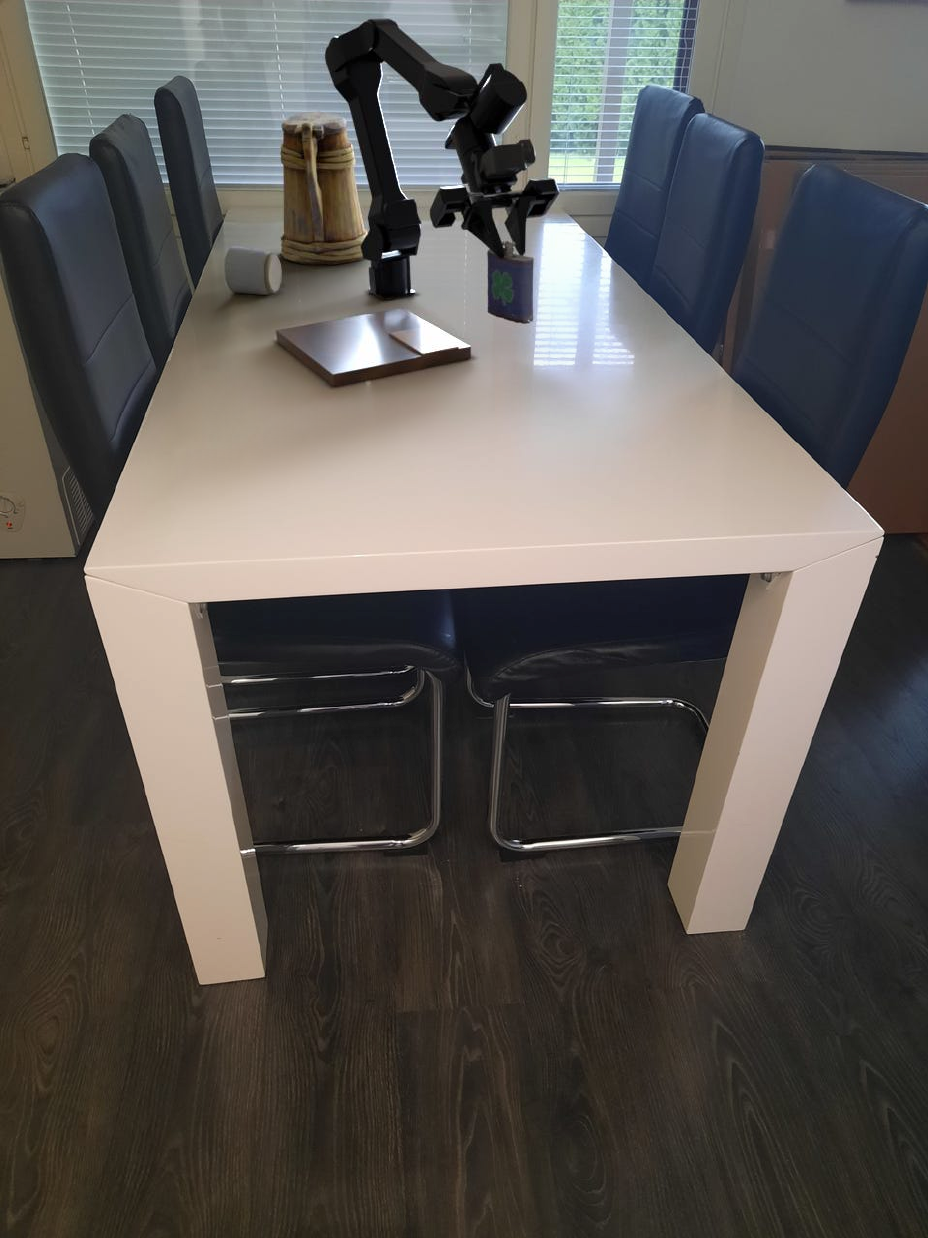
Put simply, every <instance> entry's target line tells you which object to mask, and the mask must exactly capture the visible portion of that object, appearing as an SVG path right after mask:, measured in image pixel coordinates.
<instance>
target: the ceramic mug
mask: <svg viewBox="0 0 928 1238" xmlns="http://www.w3.org/2000/svg"><path fill="white" fill-rule="evenodd" d="M282 270H283V269H282V264H281V261H280V259H279V257H278V256H277V254H275V253H273V252H271V251H268V250H263V249H255V248H250V247H244V246H243V247H242V246H236V245H233V246H230V248H229V249H228V250H227V252H226V255H225V259H224V277H225V282H226V284H227V287H228V289H229V290H230V291H231V292H232V293H235V294H249V295H264V296H267V295H274V294H276V293H277V292H278V291H279V289H280V287H281V284H282V275H283V274H282V273H283V271H282Z"/></svg>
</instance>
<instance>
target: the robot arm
mask: <svg viewBox="0 0 928 1238" xmlns="http://www.w3.org/2000/svg"><path fill="white" fill-rule="evenodd" d="M324 61H325V65H326V67H327V71H328V73H329V76H330V79H331V81H332V84H333V87H334V89H336V91H337V92H338V93H339V94H340V96H341V97H342V98H343V99H344V100H345V101H346V103H347V104H348V107H349V108H348V109H349V113H350V115H351V120H352V123H353V127H354V132H355V136H356V139H357V143H358V147H359V151H360V156H361V159H362V163H363V167H364V172H365V176H366V179H367V184H368V187H369V192H370V196H371V202H370V206H369V210H368V214H367V223H368V229H369V230H368V231H367V232H368V234H367V235H366V237H365V239H364V240H363V242H362V244H361V246H360V247H361V251H362V255H363V258H362V259H363V260H367V261H369V262H370V266H369V267H368V279H369V281H368V282H369V288H368V292H369V293H371V294H372V295H374V296H376V297H378V298H379V299H382V300H390V299H396V298H403V297H408V296H413V295H416V291H415V290H414V289H412V277H411V276H412V275H411V257H413V256H415V257H416V256H418V250H419V246H420V242H421V241H420V240H421V236H422V228H421V227H422V226H421V225H422V220H421V218H420V215H419V212H418V204H417V202H416V200H415V198H407V197H406V195H405V194H404V193H403V191H402V190H401V187H400V182H399V179H398V174H397V169H396V165H395V162H394V158H393V153H392V149H391V145H390V139H389V137H388V131H387V128H386V124H385V120H384V116H383V112H382V107H381V103H380V99H379V91H380V87H381V84H382V79H383V69H382V65H384V63H386V64H387V65H388V66H389V67H390V68H391V69H392V70H393V71H395V72H396V73H397V74H398V75H399V76H400V77H401V78H402V79H403V80H405V81H406V82H407V83H408V84H409V85H410V86H411V87H412V88H414V89H415V91H416V92H417V93H418V102H419V104H420V106H422V108H423V109H424V111H425V112H426V113H427V114H428V115H429V117H430V118H431V120H433V121H434V122H437V123H441V122H450V121H455V124H454V125H453V126H452V128H449V130H448V135H447V137H446V139H445V141H444V149H445V150H448V151H449V150H451V151H455V152H456V154H457V157H458V160H459V164H460V167H461V169H462V173H461V176H460V181H461V183H462V185H453V186H452V185H451V186H440V187H439V189H438V191H437V193H436V194H435V197H434V199H433V202H432V203H431V206H430V208H429V218H430V222H431V224H432V227H433V228H434V229H440V228H451V227H453V225H454V224H455V222H456V220H457V218H456V214H455V213H461V216H462V219H463V220H462V223H461V224H460V229H461V230H463V231H467V232H469V233H470V234H472V235H473V236H474V237H475V238H476V239H478V240H479V241H481V242H482V243H483V244H484V245H485V247H487V248H488V250H489V249H490V250H491V251H492V252H493V253H494V254H495V255H496V256H497V257H499V258H500V259H503V257H504V255H505V253H504V249H503V248H504V245H502V242H503V241H502V239H501V236H500V234H499V231H498V228H497V226H496V223H495V220H494V217H493V210H500V209H504V211H506V215H507V217H506V219H505V221H504V223H503V224H504V226H505V229H506V230H507V232H508V235H509V237H510V239H511V242H512V241H514V242H515V246H514V249H516V251H517V253H518V255H522V256H525V254H526V244H527V243H526V240H527V235H526V233H527V219H533V218H542V217H543V216H545V215H547V213H548V212H549V210H550V209H551V207H552V205H553V204H554V202H555V201H556V200H557V198H558V196H559V195H560V194H561V192H560V188H559V186H558V183H557V181H556V179H555V178H553V177H539V178H530V179H529V180H528V181H527V183H526V184H525V187H524V189H523V190H522V189H520V190H519V189H518V190H512V186H516V184H517V183H518V181H519V179H518V174H519V173H521V172H523V171H526V170H527V168H530V167H531V166H532V165H533V164H535V163H536V160H537V157H536V149H535V147H534V145H533V143H532V140H531V139H530V138H525V139H519V140H518V142H515V143H509V144H506V143H505V144H498V145H497V143H496V140H495V137H494V135H501V134H503V133H504V132H505V131H506V130H507V128H508V127H509V126H510V124H511V123H512V122H513V120H514V119H515V117H516V116H517V115H518V113H519V112H520V110H521V109H522V108H523V107H524V105H525V103H526V102H527V100H528V91H527V88H526V86H525V83H524V82H523V81H521V80H520V79H519V77H517V76H516V75H515V74H514V73H513V72H511V71H509V70H507V69H505V67H504V65H503V63H502V62H494V63H489V64H488V66H487V68H486V69H485V71H484V73H483V76H482V78H481V80H480V81H479V82H478V81H477V79H476V77H475V76H474V75H472V74H471V73H470V72H467V71H465V70H463V69H461V68H459V67H456V66H452V65H449V64H445V63H442V62H440V61H439V60H437V59H436V58H435V57H434V56H433V55H432V54H430V53H429V52H428V51H427V50H425V49H424V48H423V47H422V46H421V45H420V44H418V43H417V42H416V41H415V40H414V39H412V37H410V36H409V35H408V34H407V33H405V32H404V31H403V30H402V29H401V28H400V27H399V24H398V23H397V22H396V21H395V20H393V19H392V18H369V19H367V20H366V21H363V22H362V23H360V25H359V26H357V27H355V28H352V29H351V30H349V31H347V32H345V33H342V34H340V35H339V36H333V37H332V38H330V40H329V42H328V45H327V47H326V48H325V51H324ZM464 185H467V187H468V189H467V187H466V186H464ZM468 190H469V191H468Z"/></svg>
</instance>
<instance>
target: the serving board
mask: <svg viewBox="0 0 928 1238" xmlns="http://www.w3.org/2000/svg"><path fill="white" fill-rule="evenodd" d="M275 335H276V341H277V342H276V343H279V344H280V345H281V346H282V347H283V348H285V349H286V350H287V351H288V352H289V353H291V354H292V355H293V356H295V357H296V359H298V360H299V361H300V362H302V363H303V364H305V365H306V366H307V367H308V368H309V369H310V370H312V371H314V373H316V374H317V375H318V376H320V378H322V379H324V380H325V381H326V382H327V383H329V384H330V386H332V387H333V388H336V387H341V386H345V385H351V384H355V383H360V382H364V381H371V380H375V379H378V378H383V377H388V376H393V375H398V374H403V373H408V372H413V371H417V370H421V369H426V368H431V367H436V366H441V365H446V364H450V363H456V362H459V361H464V360H469V359H472V346H471V345H469V344H468V343H465V342H464V341H462V340H460V339H458V338H456V337H455V336H453V335H451V334H450V333H447V332H446V331H444V330H443V329H442V328H441V329H440V328H439V327H437V326H436V325H433V324H432V323H430V322H428V321H426V320H424V319H423V318H421V317H419V316H417V315H416V314H414V313H412V312H410V311H409V310H407V309H405V308H404V307H401V308H394V309H389V310H383V311H377V312H372V313H366V314H360V315H355V316H349V317H344V318H337V319H331V320H327V321H320V322H315V323H314V322H313V323H309V324H303V325H298V326H293V327H287V328H280V329H276V330H275Z"/></svg>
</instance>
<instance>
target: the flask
mask: <svg viewBox="0 0 928 1238" xmlns="http://www.w3.org/2000/svg"><path fill="white" fill-rule="evenodd" d="M501 242H502V245H503V249H504V253H505V255H504V257H503V259H500V258H499V257H497V256H496V255H495V254H494V253H493V252H492V251H491V250H490V249H489V248H488V250H487V251H486V252H487V253H486V254H487V255H486V256H487V313H488V314H490V315H492V316H494V317H496V318H500V319H504V320H506V321H509V322H514V323H516V324H522V325H526V324H531V322H532V323H533V321H534V267H535V266H534V261H535V260H534V257H532V256H527V255H523V256H522V255H519V254H517V253H514V252H515V242H514V241H512V240H511V242H510V241H509V240H505V241H501Z"/></svg>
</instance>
